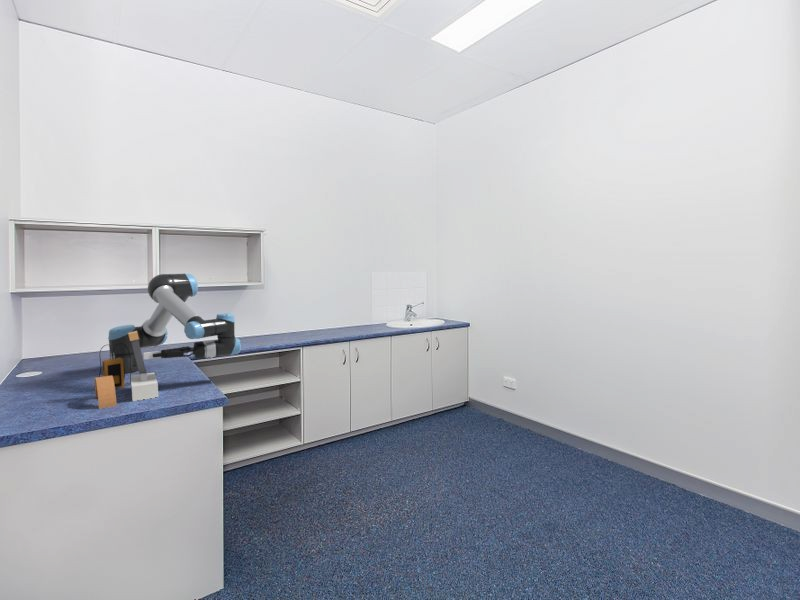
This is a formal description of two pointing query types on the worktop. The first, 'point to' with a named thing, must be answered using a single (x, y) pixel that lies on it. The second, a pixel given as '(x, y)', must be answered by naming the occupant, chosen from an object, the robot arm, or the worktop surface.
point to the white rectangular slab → (144, 386)
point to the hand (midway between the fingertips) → (143, 356)
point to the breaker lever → (137, 351)
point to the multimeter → (115, 369)
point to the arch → (105, 391)
